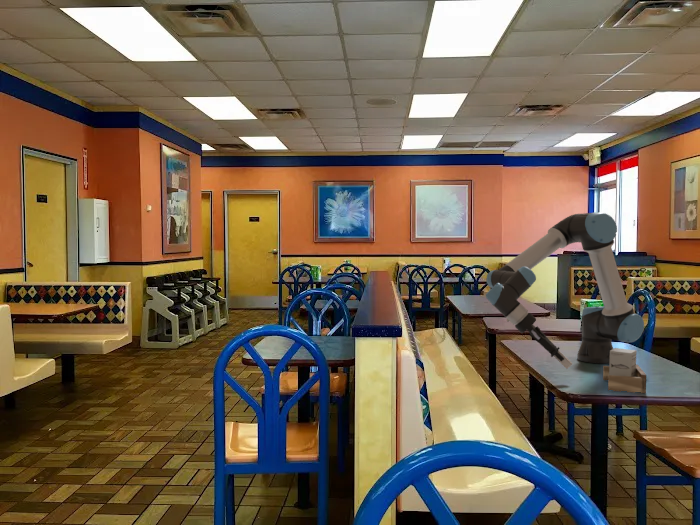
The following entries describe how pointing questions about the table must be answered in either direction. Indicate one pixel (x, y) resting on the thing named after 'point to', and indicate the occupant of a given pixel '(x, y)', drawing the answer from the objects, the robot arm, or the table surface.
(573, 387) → the table surface
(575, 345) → the table surface
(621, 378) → the brown wooden frame
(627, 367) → the supplement box
